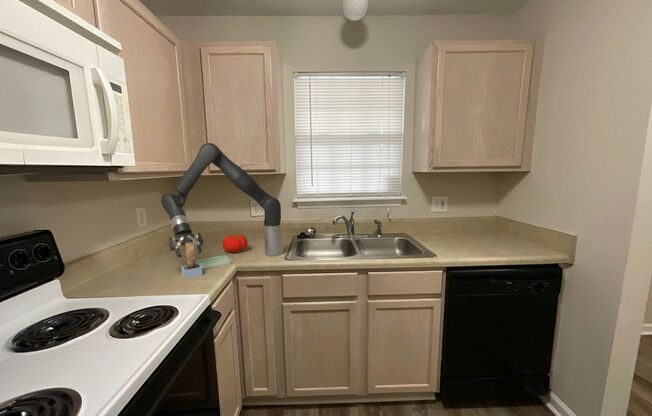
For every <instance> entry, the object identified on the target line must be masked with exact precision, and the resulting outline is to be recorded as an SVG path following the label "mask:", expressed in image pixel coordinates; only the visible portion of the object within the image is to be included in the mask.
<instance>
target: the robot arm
mask: <svg viewBox="0 0 652 416" xmlns="http://www.w3.org/2000/svg"><path fill="white" fill-rule="evenodd" d="M211 164H212V165H213V166H215V167H217V168H218V169H219V170H220V171H221V172H222V173H223V175H224V176H225V177H226V178H227V179H228V180H229V181H230V182H231V183H232V184H233V185H234V186H235V187H237V188H238V189H239V190H240V191H241V192H242V193H244V194H246V195H247V196H249V197H250V198H252V199H253V200H254V201H255V202H256V203H257V204H258V205H259V206H260V207H261V208H262V209H263V210H264V211H263V212H264V219H263V230H264V231H263V232H264V235H263V236H264V253H265V256H267V257H275V256H280V255H283V253H284V251H283V250H284V249H283V237H281V236H282V235H281V234H282V233H281V231H282V230H281V220H282V207H281V205H282V204H281V201H280V200H279V199H278V198H276V197H274V196H272V195H270V194H269V193H268V192H266V191H265V190H264V189H263V188H262V187H260V185H259V184H258V183H257V181H256V180H255V179H254V178H253V177H252V176H251V175H250V174H249V173H248V172H246V170H244V169H243V168H241V167H240V166H239V165H238V164H236V163H235V162H234V161H232V160H230V159H229V157H228V156H227V155H226V154H225V153H224V152H223V151H222V150H221V149H220V148H219V146H217V145H216V144H215V143H212V142H206V143H204V144H202V145H201V146H200V148H199V150H198V152H197V153H196V157H195V158H194V160H193V162H192V163H191V164H190V166H189V168H188V169H187V170H186V171H185V172H184V174H183V175H182V176H181V177H180V178H179V180H178V181H177V182H176V184H175V185H174V189H175V191H176V192H177V193H178V194H174V193H171V192H166V193H164V194H163V195H162V196H161V198H160V202H161V206H162V207H163V209H164V210H165V212H166V213H167V215H168V217H169V220H170V223H171V229H172V231H173V234H174V237H170V236H169V237H168V240H167V241H168V242H167V243H168V246H169V250H170V252H172V251H174V252H175V254H176V257H177V258H181V257H182V252H181V250H180V248H181V246H185V243H187V242H194V247H196V251H197V252H198V254H199V255H200V254H201V253H202V251H203V248H202V246H203V245H204V244H205V243H204V242H205V241H204V238H203V236H202V235H201V233H200V232H198V233H196V234H194V233H193V231H192V228H191V225H190V222H189V219H188V217H187V215H186V213H185V210H184V209H183V207H184V206H185V203H186V200H187V198H188V196H189V193H190V191H191V190H193V187H194V186H195V185H196V183H197V182H198V181H199V179H200V178H201V176H202V174H203V173H204V171H205V170H206V169H208V167H209V166H210V165H211ZM174 242H175V243H177V244H176V245H174Z"/></svg>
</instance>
